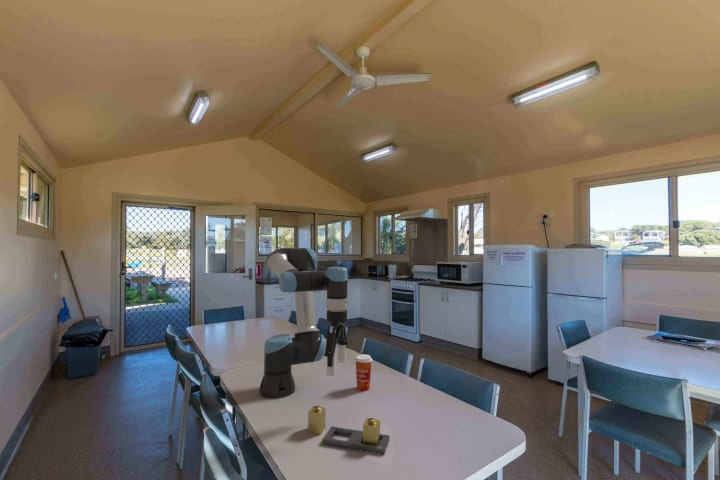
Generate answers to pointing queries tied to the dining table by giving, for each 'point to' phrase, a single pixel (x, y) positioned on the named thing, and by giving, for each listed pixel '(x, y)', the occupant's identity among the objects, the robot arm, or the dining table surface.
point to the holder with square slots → (360, 437)
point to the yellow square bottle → (316, 420)
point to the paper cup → (363, 372)
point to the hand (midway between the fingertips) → (336, 368)
